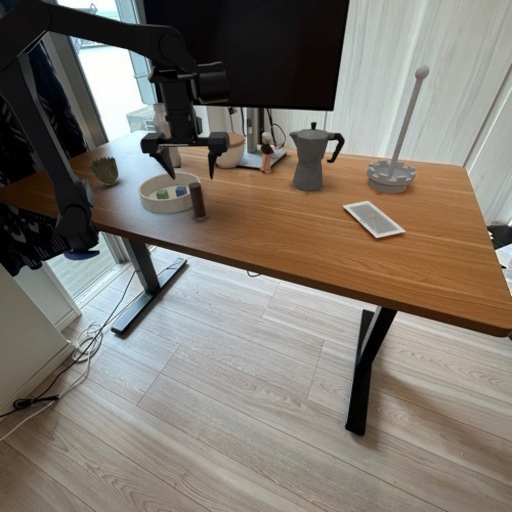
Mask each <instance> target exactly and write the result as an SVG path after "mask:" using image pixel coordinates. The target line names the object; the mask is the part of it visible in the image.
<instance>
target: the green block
mask: <svg viewBox="0 0 512 512" xmlns="http://www.w3.org/2000/svg"><path fill="white" fill-rule="evenodd" d="M156 196H157V199H168V198H169V195H168V192H167V190H158V191H157V193H156Z"/></svg>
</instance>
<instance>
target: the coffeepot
mask: <svg viewBox="0 0 512 512" xmlns="http://www.w3.org/2000/svg"><path fill="white" fill-rule="evenodd" d="M317 125H318V122H316V121H312V122H310V128H306V129H305V128H304V129H300V130H297V131H296V130H295V131H291V132H289V134H288V136H289V137H290V138H291V140H292V142H293V144H294V145H295V148H296V156H297V159H298V160H297V163H296V167H295V171H294V175H293V180H292V184H293V187H294V188H295V189H297V190H300V191H304V192H315V191H317V190H319V189H320V188H322V187H323V183H324V182H323V181H324V180H323V165H322V160H323V159H324V157H325V154H326V151H327V147H328V145H329V144H328V143H329V142H332V141H337V142H338V143H337V144H336V145H335V150H334V151H333V152H332V154H331V155H332V156H331V158H330V159H326V163H327V164H334V163H335V162H336V160H337V158H338V156H339V154H340V153H341V150H342V149H343V147H344V145H345V144H346V139H345V137H344V136H343V134H342V133H341V132H332V131H331V132H328V131H327V130H324V129H319V128H317Z"/></svg>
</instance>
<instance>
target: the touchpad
mask: <svg viewBox="0 0 512 512" xmlns="http://www.w3.org/2000/svg"><path fill="white" fill-rule="evenodd" d="M342 207H343V208H344V209H345V210H346V211H347V212H348V213H349V214H351V216H353V217H354V219H356V220H357V221H358V222H359V223H360V224H361V225H362V226H363V227H364V228H365V229H366V230H367V231H368V232H370V233H371V234H372V235H373V236H374V237H375V238H376V239H378V238H384V237H389V236H392V235H397V234H402V233H406V232H407V231H406V230H405V229H404V228H403V227H402V226H401V225H399V224H398V223H396V222H395V221H394V220H393V219H391V218H390V217H389V216H388V215H386V214H385V213H384V212H383V211H382V210H380V208H378V207H377V206H376V205H374V204H373V203H372V202H371V201H369V200H365V201H359V202H354V203H348V204H343V205H342Z"/></svg>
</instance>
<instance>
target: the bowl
mask: <svg viewBox="0 0 512 512" xmlns="http://www.w3.org/2000/svg"><path fill="white" fill-rule="evenodd" d="M175 176H176V179H175V180H173V179H172V178H171V177H170V175H169V174H168V173H167V172H165V173H161V174H157V175H154V176H152V177H150V178H148V179H146V180H144V181H143V182H142V183H141V184H140V185H139V186H138V189H137V192H138V195H139V199H140V201H141V203H142V206H143V208H144V209H145V210H146V211H149V212H151V213H155V214H161V215H162V214H164V215H165V214H166V215H167V214H175V213H180V212H184V211H187V210H190V209H192V208H193V205H192V201H191V196H190V191H189V186H188V185H189V184H190V183H194V182H198V183H200V184H201V185H202V183H201V179H200V178H199V177H198V176H197V175H195V174H194V173H190V172H183V171H175ZM177 186H186V190H187V194H185V195H183V196H180V197H177V196H176V192H175V190H176V188H177ZM201 189H202V187H201ZM158 190H167V192H168V195H169V198H168V199H157V196H156V193H157V191H158ZM202 190H203V189H202Z"/></svg>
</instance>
